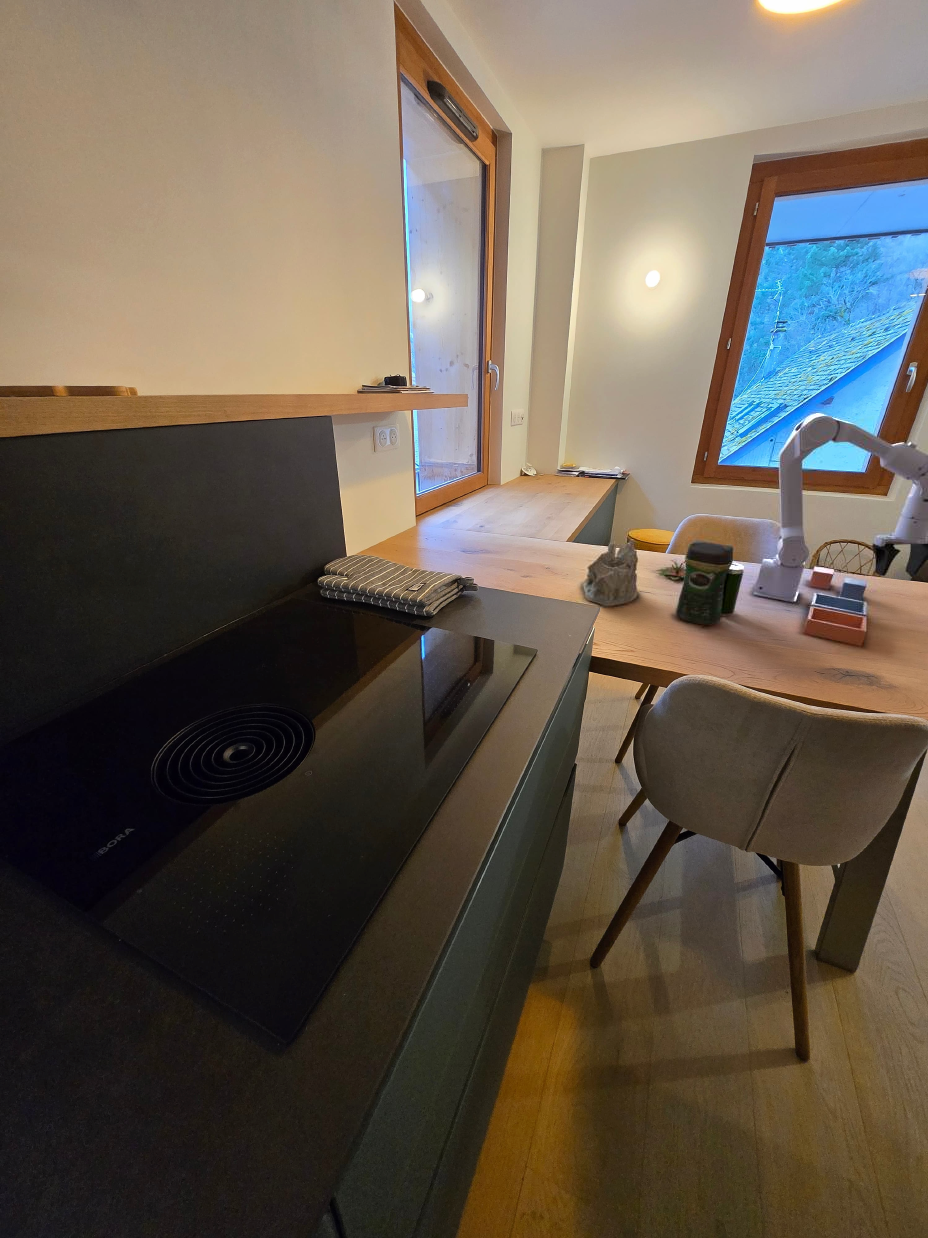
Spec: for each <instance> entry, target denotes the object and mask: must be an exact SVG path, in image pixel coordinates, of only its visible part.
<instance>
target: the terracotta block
mask: <svg viewBox="0 0 928 1238" xmlns="http://www.w3.org/2000/svg"><path fill="white" fill-rule="evenodd" d="M834 574H835V568H827V567H821V566H814V568H813V571H812V574H811V577H810V581H809V583H808V587H810V588H816V589H821V590H827V591H829V590H830V587H831V583H832V582H833V581H832V580H833V578H834Z"/></svg>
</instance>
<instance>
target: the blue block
mask: <svg viewBox="0 0 928 1238" xmlns="http://www.w3.org/2000/svg"><path fill="white" fill-rule="evenodd" d="M840 588H841V589H840V591H839V595H838V597H841V598H847V599H852V600H858V601H862V599H863V597H864V594H865V591H866V588H867V580H865V579H857V578H853V577H852V578H851V577H844V579H843V583H842V585H841V587H840Z"/></svg>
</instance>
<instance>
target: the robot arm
mask: <svg viewBox="0 0 928 1238" xmlns="http://www.w3.org/2000/svg"><path fill="white" fill-rule="evenodd" d="M829 442H832V443H834V444H836V443H837V444H838V443H849V444H851V445H853V446H855V447H857V448H859V449H862V450H863V451H866V452H868V453H869V454H872V455H874V456H876V457H878V458H879V462H880V465H879V466H880V467H881V468H884V469H885V470H887V471H889V472H891V473H892V474H895V475H896V476H899V477H901V478H903V479H904V480H907V481H911V483H912V485H911V488H910V491H909V494H908V495H907V498H906V501H905V503H904V506H903V508H902V511H901V514H900V516H899V519H898V522H897V525H896V527H895V530H894V532H892V533H888V534H882V535H876V536H875V537H874V542H872V545H871V546H872V550H873V553H874V558H875V572H874V573H875V574H876V575H879V576H882V577H885V576H886V574H887V573H888V572H889V569H890V567H891V565H892V563H893V561H894V560H895V558H896V557H897V556H898V554H900V553H901V550H900V549H898V548H896V546H899V545H901V546H902V545H903V546H905V545H909V546H910V547H909V549H910V550H909V557H908V561H907V563H906V567H905V573H908V574H911V575H917V573H918V572H919V571H920V570H921V568H922V567H923V566H924V565H925V563H926V562H927V561H928V454H927V453H926V452H923V451H921V450H919V449H917V446H918V445H917V444H915V443H912V442H909V443H905V442H899V443H895V444H891V443H889V442H887V441H885V440H884V439H882V438H880V437H878V436H876V435H875V434H873V433H871V432H869V431H867V430H865V429H864V428H862V427H860V426H859V425H857V424H854V423H851V422H849V421H845V420H842V419H839V418H835V417H832V416H830V415H827V414H825V413H820V412H817V413H811V414H810V415H808V416H806V417H804V418H803V420H801V422H799V423H798V424H796V426H795V427H794V429H793V431H792V433H791V435H790V436H789V437H788V439H787V440H786V442H785V444H784V445H783V447H782V449H781V450H780V452H779V453H778V477H779V479H778V480H779V481H778V483H779V514H780V515H779V516H780V518H779V519H780V528H779V537H778V539H777V540H776V543H775V548H776V551H777V553H776V554H775V555H774V556H772V559H765V558H764V559H763V560H762V562H761V565H760V569H759V571H758V576H757V578H756V581H755V584H754V586H755V588H754V591H753V595H754V596H759V597H763V598H769V599H774V600H778V601H779V600H780V601H784V602H789V603H796V602H797V599H798V596H799V594H800V592H799V590H798V589H799V586H800V583H801V579H802V577H803V576H802V575H803V572H804V570H805V565H806V562H807V560H808V559H809V556H810V549H809V548H808V546H807V545H806V541H805V533H804V512H803V511H804V510H803V508H804V506H803V503H804V502H803V501H804V499H803V496H804V495H803V461H804V460H805V459H806V458H807V457H808V456H809V455H810V454H811V453H813V452H814V451H815V450H817V449H818V448H821V447H822V446H824V445H826V444H828V443H829Z"/></svg>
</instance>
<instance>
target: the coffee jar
mask: <svg viewBox="0 0 928 1238" xmlns="http://www.w3.org/2000/svg"><path fill="white" fill-rule="evenodd" d="M733 560H734V547H733V545H727V544H721V543H715V542H709V541H702V540H695V541H693V542H691V543H690V544H689V546H688V547H687V551H686V555H685V556H684V561H685V563H684V566H686V567H685V569H686V572H685V578H684V577H683V583H682V587H681V590H680V594H679V597H678V600H677V603H676V604H677V605H676V607H675V616H676V618H678V619H680V620H682V621H686V622H690V623H694V624H697V625H701V626H711V625H715V624H717V623H718V622H719V621H720V620H721V617H722V616H721V610H722V600H723V590H724V582H725V578H726V574H727V571H728V570H729V568H730V567H731V565H732V563H734V562H733Z"/></svg>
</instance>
